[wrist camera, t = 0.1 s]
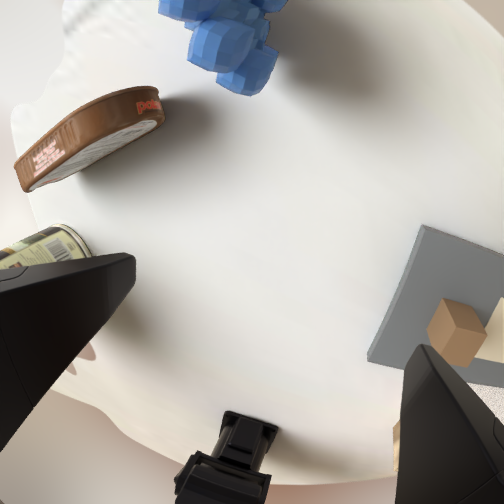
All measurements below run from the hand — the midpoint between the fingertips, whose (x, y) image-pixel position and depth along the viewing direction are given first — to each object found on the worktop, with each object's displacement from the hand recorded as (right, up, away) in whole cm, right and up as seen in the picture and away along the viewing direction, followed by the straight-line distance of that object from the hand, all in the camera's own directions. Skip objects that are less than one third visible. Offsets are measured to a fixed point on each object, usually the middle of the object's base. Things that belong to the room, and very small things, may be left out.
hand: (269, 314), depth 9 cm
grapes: (0, +17, +10) cm, 20 cm away
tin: (-13, +12, +16) cm, 24 cm away
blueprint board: (+22, -5, +12) cm, 25 cm away
